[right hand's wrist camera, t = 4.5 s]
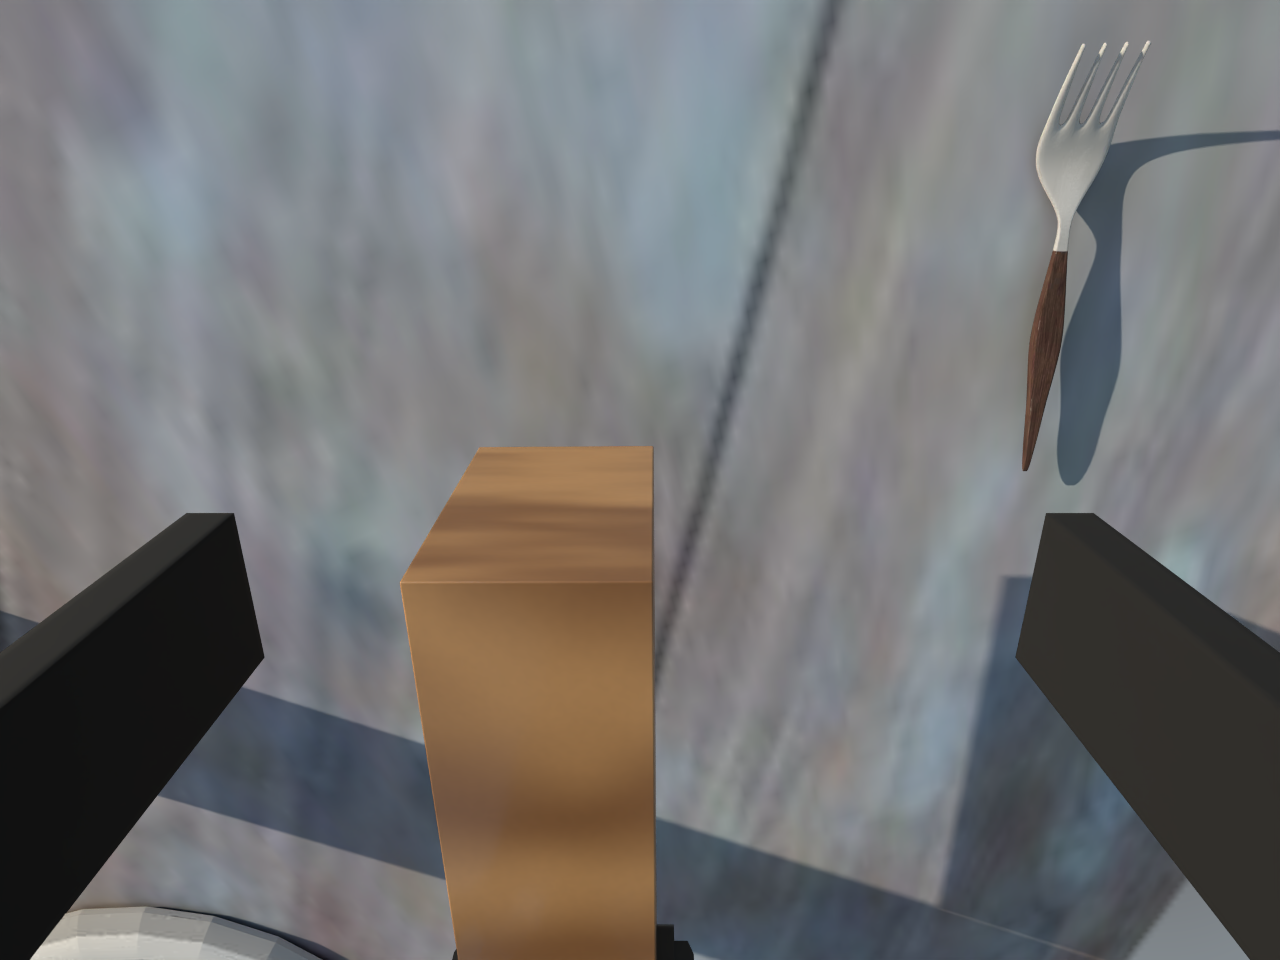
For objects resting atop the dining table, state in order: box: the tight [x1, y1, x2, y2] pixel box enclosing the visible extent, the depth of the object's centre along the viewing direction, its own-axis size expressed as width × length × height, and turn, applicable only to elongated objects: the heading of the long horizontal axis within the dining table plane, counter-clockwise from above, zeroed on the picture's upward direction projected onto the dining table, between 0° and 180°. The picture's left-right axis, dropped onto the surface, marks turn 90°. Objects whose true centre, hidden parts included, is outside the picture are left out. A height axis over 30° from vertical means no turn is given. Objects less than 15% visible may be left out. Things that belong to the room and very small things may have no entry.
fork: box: [1022, 41, 1151, 471], centre depth 30 cm, size 3×16×2 cm, turn 2°
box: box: [400, 446, 657, 960], centre depth 27 cm, size 22×6×9 cm, turn 1°
